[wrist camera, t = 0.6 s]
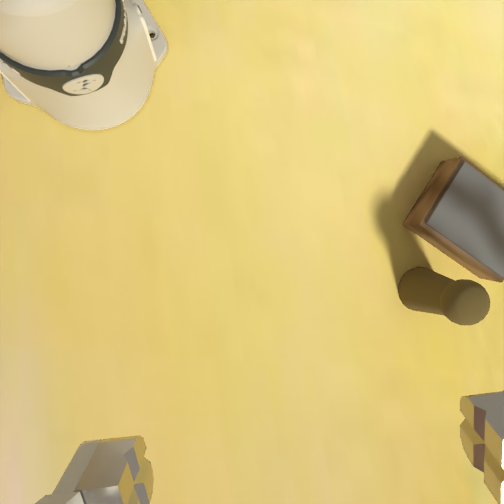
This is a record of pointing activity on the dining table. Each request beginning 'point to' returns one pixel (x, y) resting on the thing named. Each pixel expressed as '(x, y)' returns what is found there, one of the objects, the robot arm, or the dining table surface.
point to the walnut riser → (463, 218)
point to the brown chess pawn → (444, 296)
